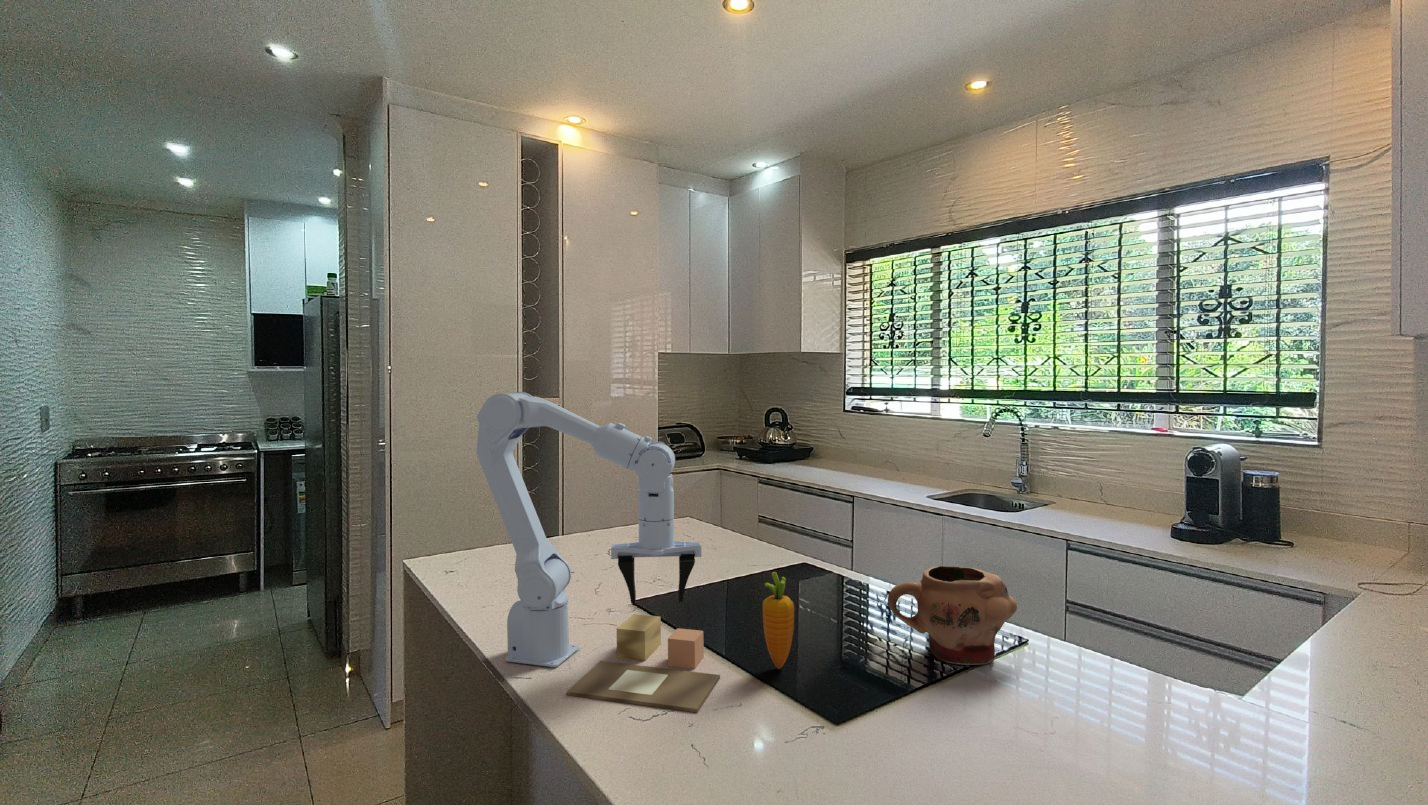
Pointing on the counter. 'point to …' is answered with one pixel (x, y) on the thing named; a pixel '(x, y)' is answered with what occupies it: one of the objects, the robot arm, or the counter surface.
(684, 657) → the terracotta cube
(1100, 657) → the counter surface
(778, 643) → the carrot
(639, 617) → the oak block
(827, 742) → the counter surface
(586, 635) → the counter surface
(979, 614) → the brown clay mug
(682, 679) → the brown wooden board
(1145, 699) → the counter surface
